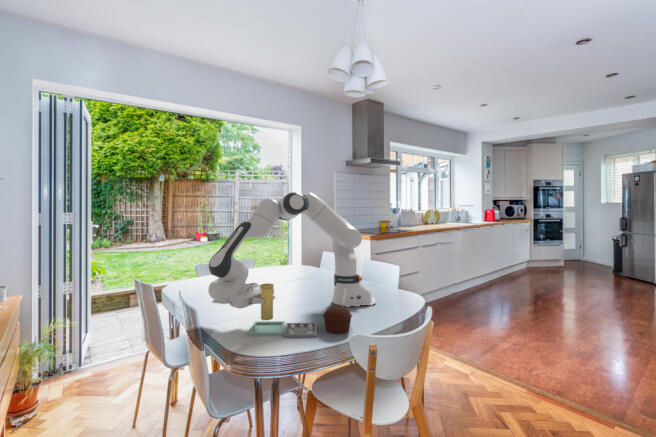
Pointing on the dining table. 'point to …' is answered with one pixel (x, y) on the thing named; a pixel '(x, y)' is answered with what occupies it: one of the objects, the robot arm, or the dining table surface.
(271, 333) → the green tray
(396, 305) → the dining table surface
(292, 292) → the dining table surface
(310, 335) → the gravel tray
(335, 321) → the muffin
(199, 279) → the dining table surface
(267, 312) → the tan capped cylinder
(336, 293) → the robot arm
